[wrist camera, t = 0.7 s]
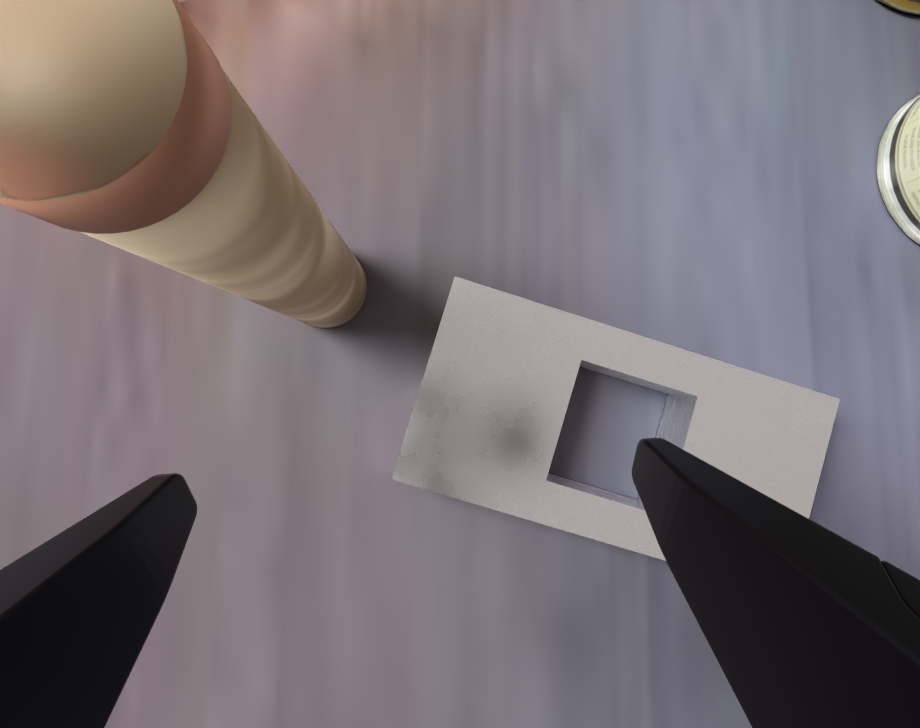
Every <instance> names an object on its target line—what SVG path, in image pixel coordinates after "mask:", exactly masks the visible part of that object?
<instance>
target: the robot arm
mask: <svg viewBox="0 0 920 728" xmlns="http://www.w3.org/2000/svg"><path fill="white" fill-rule="evenodd" d="M632 477H633V481H634V484H635V486H636V489H637V491H638V494H639V497H640V499H641V502H642V504H643V507H644V509H645V512H646V514H647V517H648V519H649V522H650V524H651V527H652V529H653V532H654V534H655V537H656V540H657V542H658V544H659V547H660V549H661V551H662V553H663V555H664V557H665V559H666V562H667V564H668V566H669V567H670V569H671V571H672V573H673V575H674V577H675V579H676V581H677V583H678V585H679V587H680V589H681V591H682V593H683V594H684V596H685V598H686V600H687V602H688V604H689V606H690V608H691V610H692V612H693V614H694V616H695V618H696V620H697V622H698V623H699V625H700V627H701V629H702V631H703V633H704V635H705V637H706V639H707V641H708V643H709V645H710V647H711V649H712V650H713V652H714V654H715V656H716V658H717V660H718V662H719V664H720V666H721V668H722V670H723V672H724V674H725V676H726V678H727V679H728V681H729V683H730V685H731V687H732V689H733V691H734V693H735V695H736V697H737V699H738V701H739V703H740V705H741V706H742V708H743V710H744V712H745V714H746V716H747V718H748V720H749V722H750V724H751V726H752V728H920V580H919V579H917V578H915V577H913V576H911V575H910V574H908V573H906V572H904V571H902V570H901V569H899V568H897V567H895V566H893V565H892V564H890V563H888V562H886V561H880V559H879V558H878V557H877V556H875V555H873V554H871V553H870V552H868V551H866V550H864V549H862V548H861V547H859V546H857V545H855V544H853V543H852V542H850V541H848V540H846V539H844V538H842V537H841V536H839V535H837V534H835V533H833V532H832V531H830V530H828V529H826V528H824V527H823V526H821V525H819V524H817V523H815V522H814V521H812V520H810V519H808V518H806V517H804V516H803V515H801V514H799V513H797V512H795V511H794V510H792V509H790V508H788V507H786V506H785V505H783V504H781V503H779V502H777V501H776V500H774V499H772V498H770V497H768V496H766V495H765V494H763V493H761V492H759V491H757V490H756V489H754V488H752V487H750V486H748V485H747V484H745V483H743V482H741V481H739V480H738V479H736V478H734V477H732V476H730V475H728V474H727V473H725V472H723V471H721V470H719V469H718V468H716V467H714V466H712V465H710V464H709V463H707V462H705V461H703V460H701V459H699V458H698V457H696V456H694V455H692V454H690V453H689V452H687V451H685V450H683V449H681V448H680V447H678V446H676V445H674V444H672V443H671V442H669V441H667V440H665V439H663V438H645V439H642V440H640V441H639V443H638V445H637V450H636V454H635V458H634V462H633V467H632ZM196 514H197V504H196V501H195V499H194V497H193V495H192V493H191V491H190V489H189V487H188V485H187V483H186V481H185V479H184V477H183V476H181V475H180V474H177V473H174V474H160V475H155V476H153V477H151V478H149V479H148V480H146V481H144V482H143V483H141V484H140V485H138V486H136V487H135V488H133V489H131V490H130V491H128V492H127V493H125V494H123V495H122V496H120V497H118V498H117V499H115V500H114V501H112V502H110V503H109V504H107V505H105V506H104V507H102V508H101V509H99V510H97V511H96V512H94V513H92V514H91V515H89V516H87V517H86V518H84V519H83V520H81V521H79V522H78V523H76V524H74V525H73V526H71V527H70V528H68V529H66V530H65V531H63V532H61V533H60V534H58V535H57V536H55V537H53V538H52V539H50V540H48V541H47V542H45V543H44V544H42V545H40V546H39V547H37V548H35V549H34V550H32V551H31V552H29V553H27V554H26V555H24V556H22V557H21V558H19V559H17V560H16V561H14V562H13V563H11V564H9V565H8V566H6V567H4V568H3V569H1V570H0V728H104V727H105V725H106V723H107V721H108V719H109V717H110V715H111V713H112V711H113V708H114V706H115V704H116V702H117V700H118V698H119V696H120V694H121V692H122V689H123V687H124V685H125V683H126V681H127V679H128V677H129V675H130V673H131V671H132V668H133V666H134V664H135V662H136V660H137V658H138V656H139V654H140V652H141V650H142V647H143V645H144V643H145V641H146V639H147V637H148V635H149V633H150V631H151V628H152V626H153V624H154V622H155V620H156V618H157V616H158V614H159V612H160V610H161V607H162V605H163V603H164V601H165V598H166V596H167V594H168V591H169V589H170V586H171V584H172V581H173V578H174V575H175V573H176V570H177V567H178V564H179V562H180V559H181V556H182V553H183V551H184V548H185V545H186V542H187V540H188V537H189V534H190V531H191V529H192V526H193V523H194V520H195V518H196Z"/></svg>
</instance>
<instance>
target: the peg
mask: <svg viewBox="0 0 920 728" xmlns="http://www.w3.org/2000/svg"><path fill="white" fill-rule="evenodd" d="M0 203H1V204H4V205H6V206H9V207H11V208H14V209H16V210H19V211H21V212H24V213H26V214H29V215H31V216H34V217H36V218H39V219H41V220H44V221H47V222H49V223H52V224H54V225H57V226H60V227H62V228H66V229H70V230H74V231H78V232H81V233H84V234H86V235H89V236H91V237H94V238H96V239H98V240H101V241H103V242H106V243H108V244H111V245H113V246H116V247H118V248H121V249H123V250H126V251H128V252H131V253H133V254H136V255H138V256H141V257H143V258H145V259H148V260H150V261H153V262H155V263H158V264H160V265H163V266H165V267H168V268H170V269H173V270H175V271H178V272H180V273H183V274H185V275H188V276H190V277H192V278H195V279H197V280H200V281H202V282H205V283H207V284H210V285H212V286H215V287H217V288H220V289H222V290H225V291H227V292H230V293H232V294H234V295H237V296H239V297H242V298H244V299H247V300H249V301H252V302H254V303H257V304H259V305H262V306H264V307H267V308H269V309H272V310H274V311H277V312H279V313H281V314H284V315H286V316H289V317H291V318H294V319H296V320H299V321H301V322H304V323H306V324H309V325H311V326H315V327H320V328H330V327H336V326H339V325H342V324H344V323H346V322H348V321H349V320H351V319H352V318H353V317H354V316H355V315H356V314H357V313H358V312H359V310H360V309H361V307H362V306H363V304H364V301H365V298H366V294H367V280H366V275H365V272H364V270H363V268H362V266H361V265H360V263H359V262H358V260H357V259H356V257H355V256H354V255H353V253H352V252H351V250H350V249H349V248H348V246H347V245H346V243H345V242H344V240H343V239H342V238H341V236H340V235H339V233H338V232H337V231H336V229H335V228H334V226H333V225H332V224H331V222H330V221H329V219H328V218H327V216H326V215H325V214H324V212H323V211H322V209H321V208H320V207H319V205H318V204H317V202H316V201H315V199H314V198H313V197H312V195H311V194H310V192H309V191H308V190H307V188H306V187H305V185H304V184H303V182H302V181H301V180H300V178H299V177H298V175H297V174H296V173H295V171H294V170H293V168H292V167H291V166H290V164H289V163H288V161H287V160H286V158H285V157H284V156H283V154H282V153H281V151H280V150H279V149H278V147H277V146H276V144H275V143H274V141H273V140H272V139H271V137H270V136H269V134H268V133H267V132H266V130H265V129H264V127H263V126H262V124H261V123H260V122H259V120H258V119H257V117H256V116H255V115H254V113H253V112H252V110H251V109H250V108H249V106H248V105H247V103H246V102H245V100H244V99H243V98H242V96H241V95H240V93H239V92H238V91H237V89H236V88H235V86H234V85H233V83H232V82H231V81H230V79H229V78H228V76H227V75H226V74H225V72H224V71H223V69H222V68H221V65H220V63H219V61H218V59H217V58H216V56H215V54H214V53H213V51H212V49H211V48H210V46H209V45H208V43H207V42H206V41H205V39H204V38H203V36H202V35H201V33H200V32H199V30H198V29H197V28H196V26H195V25H194V23H193V22H192V20H191V19H190V18H189V16H188V15H187V13H186V12H185V10H184V9H183V8H182V6H181V5H180V3H179V2H178V0H0Z"/></svg>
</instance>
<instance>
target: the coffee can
mask: <svg viewBox="0 0 920 728" xmlns="http://www.w3.org/2000/svg"><path fill="white" fill-rule="evenodd" d="M877 179H878V184H879V188H880V192H881V195H882V198H883V201H884V203H885V205H886V207H887V210H888V212H889V214H890V215H891V216H892V217H893V219H894V220H895V222H896V223H897V224H898V226H899V227H900V228H901V229H902V230H903V232H904V233H905V234H906V235H907V236H908V237H909V238H911V239H912V240H914V241H915V242H916V243H918V244H919V245H920V95H918V96H916V97H915V98H913V99H912V100H910V101H909V102H908V103H906V104H905V105H904V106H903V107H902V108H901V109H900V110H899V111H898V112H897V113H896V114H895V115H894V117H893V118H892V120H891V121H890V122H889V124H888V126H887V128H886V130H885V132H884V134H883V136H882V139H881V141H880V144H879V148H878V159H877Z"/></svg>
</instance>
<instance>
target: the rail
mask: <svg viewBox="0 0 920 728" xmlns="http://www.w3.org/2000/svg"><path fill="white" fill-rule="evenodd" d="M579 366H580V367H583V368H586V369H589V370H592V371H596V372H599V373H602V374H605V375H608V376H611V377H615V378H618V379H621V380H624V381H627V382H631V383H634V384H637V385H640V386H643V387H646V388H650V389H653V390H656V391H659V392H662V393H666V394H668V396H667V400H666V403H665V407H664V410H663V414H662V418H661V421H660V425H659V428H658V432H657V435H656V438H663V439H665V440H667V441H669V442H671V443H672V444H674V445H676V446H678V447H680V448H681V449H683V450H685V451H687V452H689V453H690V454H692V455H694V456H696V457H698V458H699V459H701V460H703V461H705V462H707V463H709V464H710V465H712V466H714V467H716V468H718V469H719V470H721V471H723V472H725V473H727V474H728V475H730V476H732V477H734V478H736V479H738V480H739V481H741V482H743V483H745V484H747V485H748V486H750V487H752V488H754V489H756V490H757V491H759V492H761V493H763V494H765V495H766V496H768V497H770V498H772V499H774V500H776V501H777V502H779V503H781V504H783V505H785V506H786V507H788V508H790V509H792V510H794V511H795V512H797V513H799V514H801V515H803V516H804V517H806V518H808V519H809V517H810V513H811V509H812V505H813V501H814V497H815V493H816V490H817V486H818V482H819V478H820V474H821V470H822V466H823V463H824V459H825V455H826V451H827V447H828V443H829V439H830V436H831V432H832V428H833V424H834V420H835V416H836V412H837V409H838V405H839V401H840V399H838V398H835V397H831V396H828V395H825V394H822V393H819V392H816V391H813V390H810V389H806V388H803V387H800V386H797V385H794V384H791V383H788V382H784V381H781V380H778V379H775V378H772V377H769V376H766V375H763V374H759V373H756V372H753V371H750V370H747V369H744V368H741V367H737V366H734V365H731V364H728V363H725V362H722V361H719V360H716V359H712V358H709V357H706V356H703V355H700V354H697V353H694V352H690V351H687V350H684V349H681V348H678V347H675V346H672V345H669V344H665V343H662V342H659V341H656V340H653V339H650V338H647V337H643V336H640V335H637V334H634V333H631V332H628V331H625V330H622V329H618V328H615V327H612V326H609V325H606V324H603V323H600V322H596V321H593V320H590V319H587V318H584V317H581V316H578V315H575V314H571V313H568V312H565V311H562V310H559V309H556V308H553V307H549V306H546V305H543V304H540V303H537V302H534V301H531V300H528V299H524V298H521V297H518V296H515V295H512V294H509V293H506V292H502V291H499V290H496V289H493V288H490V287H487V286H484V285H481V284H477V283H474V282H471V281H468V280H465V279H462V278H459V277H454V281H453V284H452V287H451V290H450V293H449V297H448V300H447V303H446V306H445V309H444V313H443V316H442V319H441V322H440V325H439V329H438V332H437V335H436V338H435V341H434V345H433V348H432V351H431V354H430V357H429V361H428V364H427V367H426V370H425V373H424V377H423V380H422V383H421V386H420V389H419V392H418V396H417V399H416V402H415V405H414V408H413V412H412V415H411V418H410V421H409V424H408V428H407V431H406V434H405V437H404V440H403V444H402V447H401V450H400V453H399V456H398V460H397V463H396V466H395V469H394V472H393V476H392V480H396V481H399V482H402V483H406V484H409V485H412V486H416V487H419V488H422V489H426V490H429V491H433V492H436V493H439V494H443V495H446V496H449V497H453V498H456V499H459V500H463V501H466V502H470V503H473V504H476V505H480V506H483V507H486V508H490V509H493V510H496V511H500V512H503V513H507V514H510V515H513V516H517V517H520V518H523V519H527V520H530V521H533V522H537V523H540V524H544V525H547V526H550V527H554V528H557V529H560V530H564V531H567V532H570V533H574V534H577V535H581V536H584V537H587V538H591V539H594V540H597V541H601V542H604V543H607V544H611V545H614V546H618V547H621V548H624V549H628V550H631V551H634V552H638V553H641V554H644V555H648V556H651V557H654V558H658V559H661V560H665V561H666V559H665V557H664V555H663V553H662V551H661V549H660V547H659V544H658V542H657V540H656V537H655V534H654V532H653V529H652V527H651V524H650V522H649V519H648V517H647V514H646V512H645V509H644V507H643V504H642V502H641V499H640V497H639V499H638V500H636V499H633V498H630V497H626V496H623V495H620V494H616V493H613V492H610V491H606V490H603V489H600V488H597V487H593V486H590V485H587V484H583V483H580V482H577V481H573V480H570V479H567V478H563V477H560V476H557V475H554V474H550V473H548V472H549V469H550V465H551V462H552V458H553V455H554V452H555V448H556V445H557V441H558V438H559V435H560V431H561V428H562V424H563V421H564V418H565V414H566V411H567V407H568V404H569V401H570V397H571V394H572V390H573V387H574V384H575V380H576V377H577V373H578V370H579Z"/></svg>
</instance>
